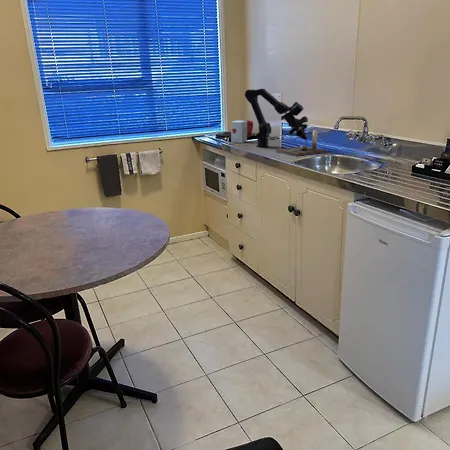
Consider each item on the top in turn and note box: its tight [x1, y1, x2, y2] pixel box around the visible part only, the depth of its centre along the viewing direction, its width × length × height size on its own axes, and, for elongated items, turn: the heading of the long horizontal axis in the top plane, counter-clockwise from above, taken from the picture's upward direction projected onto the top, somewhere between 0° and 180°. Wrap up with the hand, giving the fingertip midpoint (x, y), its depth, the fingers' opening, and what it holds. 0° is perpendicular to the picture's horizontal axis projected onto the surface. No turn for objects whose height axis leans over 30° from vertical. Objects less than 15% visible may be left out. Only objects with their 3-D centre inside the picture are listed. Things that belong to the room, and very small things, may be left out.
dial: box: [291, 129, 319, 151], centre depth 264 cm, size 19×4×11 cm, turn 116°
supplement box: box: [230, 120, 248, 144], centre depth 309 cm, size 9×9×15 cm
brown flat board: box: [276, 146, 325, 157], centre depth 267 cm, size 24×18×2 cm
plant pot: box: [244, 119, 254, 138], centre depth 336 cm, size 13×13×12 cm
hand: (306, 139), depth 271 cm, fingers closed
